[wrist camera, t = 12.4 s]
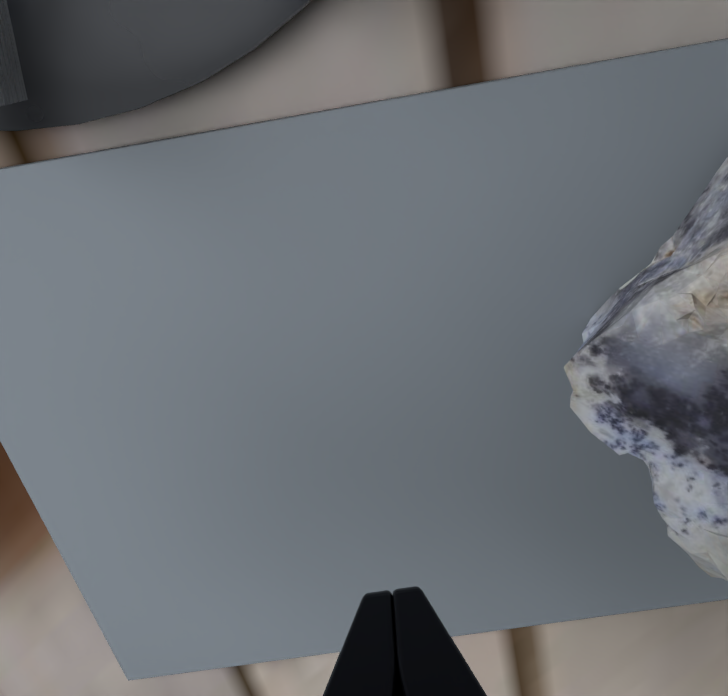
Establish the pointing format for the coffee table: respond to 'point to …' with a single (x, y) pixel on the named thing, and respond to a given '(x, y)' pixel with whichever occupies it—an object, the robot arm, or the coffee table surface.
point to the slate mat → (349, 360)
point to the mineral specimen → (670, 377)
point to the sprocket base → (126, 52)
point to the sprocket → (9, 62)
